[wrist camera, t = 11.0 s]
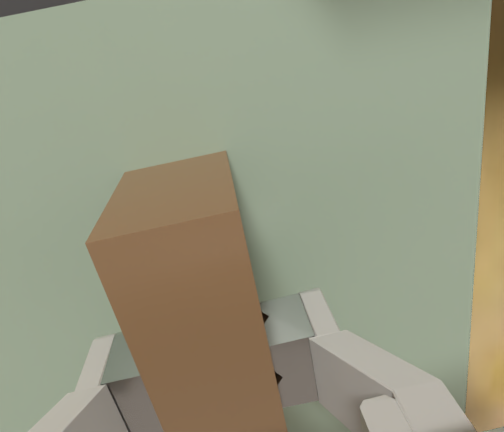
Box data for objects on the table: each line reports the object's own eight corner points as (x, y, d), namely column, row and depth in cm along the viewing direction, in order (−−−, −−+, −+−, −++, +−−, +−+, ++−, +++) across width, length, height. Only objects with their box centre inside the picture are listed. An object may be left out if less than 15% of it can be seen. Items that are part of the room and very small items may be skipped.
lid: (435, 376, 16) (539, 528, 11) (68, 462, 16) (7, 659, 11) (442, -61, 10) (690, -160, 5) (-172, 63, 9) (-592, 94, 4)
